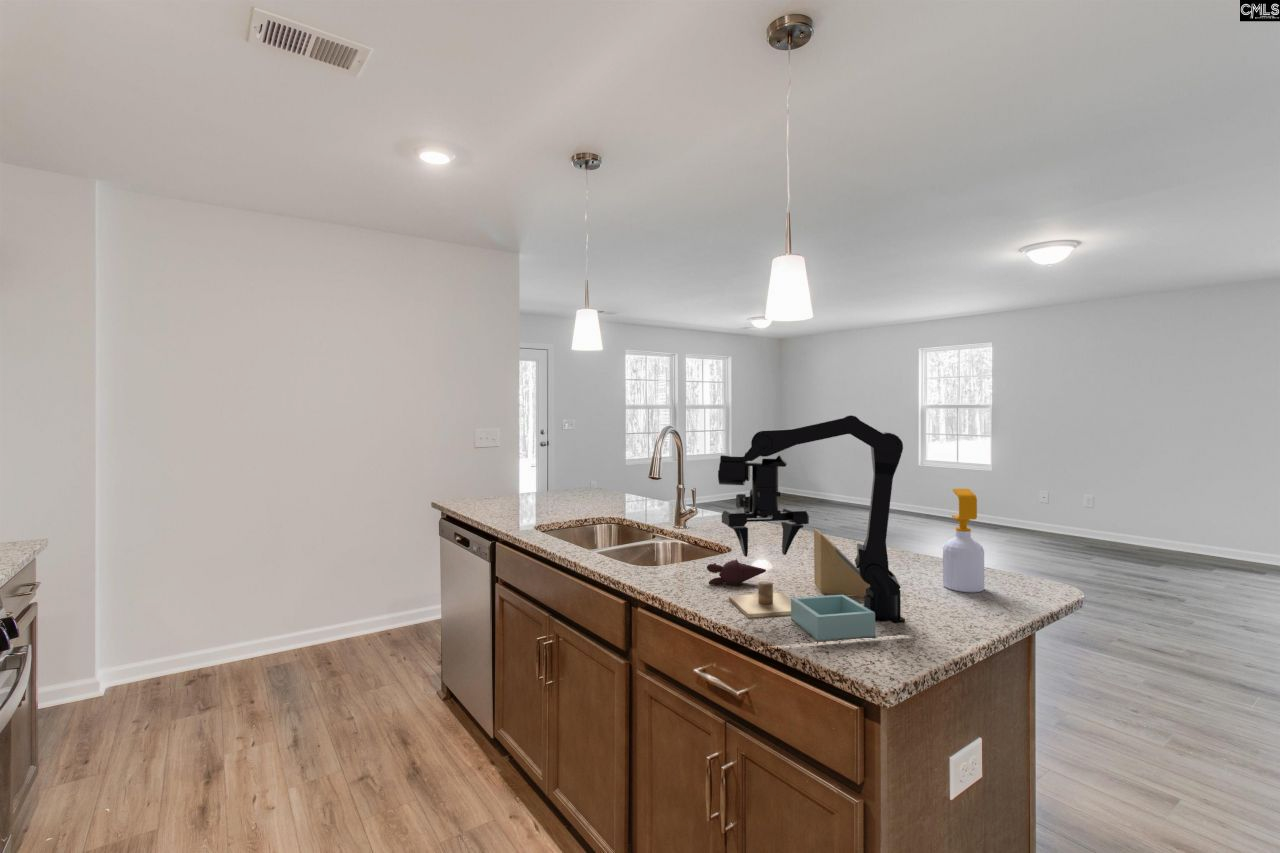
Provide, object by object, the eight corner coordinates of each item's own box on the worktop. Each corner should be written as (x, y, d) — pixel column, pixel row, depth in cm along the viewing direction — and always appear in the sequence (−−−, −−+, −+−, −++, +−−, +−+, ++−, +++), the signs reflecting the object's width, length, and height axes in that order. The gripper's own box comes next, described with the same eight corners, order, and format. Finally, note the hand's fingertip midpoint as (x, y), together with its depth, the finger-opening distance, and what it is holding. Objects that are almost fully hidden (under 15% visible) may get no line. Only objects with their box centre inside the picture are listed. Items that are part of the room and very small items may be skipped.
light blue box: (843, 617, 128) (843, 594, 128) (875, 638, 116) (875, 612, 116) (791, 621, 126) (790, 598, 126) (817, 643, 114) (817, 617, 114)
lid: (781, 595, 142) (780, 574, 142) (805, 613, 129) (805, 589, 129) (728, 599, 139) (728, 577, 139) (748, 617, 127) (748, 593, 127)
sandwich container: (886, 597, 142) (886, 534, 142) (821, 596, 144) (820, 534, 143) (876, 587, 151) (875, 527, 150) (814, 586, 152) (813, 527, 152)
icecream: (761, 556, 157) (704, 562, 157) (766, 555, 150) (707, 561, 150) (765, 583, 155) (708, 589, 156) (770, 584, 148) (710, 590, 148)
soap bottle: (973, 582, 153) (973, 487, 152) (991, 593, 144) (991, 491, 143) (937, 582, 154) (936, 487, 153) (952, 592, 144) (951, 491, 144)
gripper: (788, 481, 143) (788, 545, 144) (714, 483, 140) (714, 549, 140) (810, 486, 132) (809, 556, 133) (729, 488, 129) (729, 560, 129)
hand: (764, 555), depth 134 cm, fingers open, 9 cm apart
